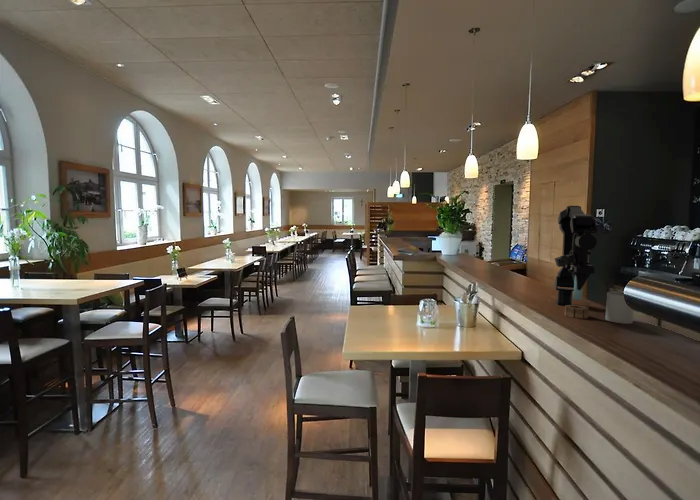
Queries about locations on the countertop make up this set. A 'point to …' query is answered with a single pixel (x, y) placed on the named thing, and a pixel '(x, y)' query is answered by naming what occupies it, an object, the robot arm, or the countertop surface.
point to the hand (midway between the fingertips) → (577, 289)
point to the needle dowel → (577, 292)
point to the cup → (618, 308)
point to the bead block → (576, 311)
